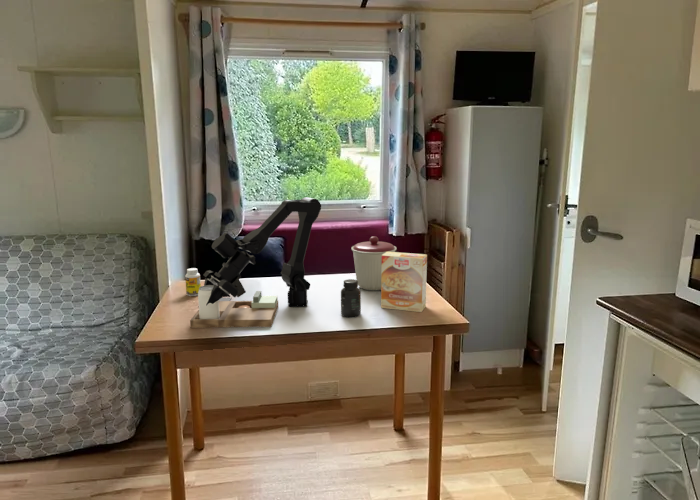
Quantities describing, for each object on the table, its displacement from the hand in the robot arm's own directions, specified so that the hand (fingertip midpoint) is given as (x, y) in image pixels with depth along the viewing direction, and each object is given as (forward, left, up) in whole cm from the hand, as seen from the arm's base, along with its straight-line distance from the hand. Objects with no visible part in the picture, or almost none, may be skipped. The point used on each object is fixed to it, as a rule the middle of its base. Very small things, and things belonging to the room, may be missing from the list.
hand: (204, 303), depth 172 cm
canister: (-58, -40, -7) cm, 71 cm away
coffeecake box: (-67, -14, -7) cm, 69 cm away
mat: (+2, -22, -7) cm, 23 cm away
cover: (-18, -11, -4) cm, 22 cm away
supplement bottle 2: (-48, -7, -7) cm, 49 cm away
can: (-1, -1, -7) cm, 7 cm away
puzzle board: (-9, -6, -7) cm, 13 cm away
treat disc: (-11, -11, -7) cm, 17 cm away
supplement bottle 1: (+13, -33, -7) cm, 36 cm away
